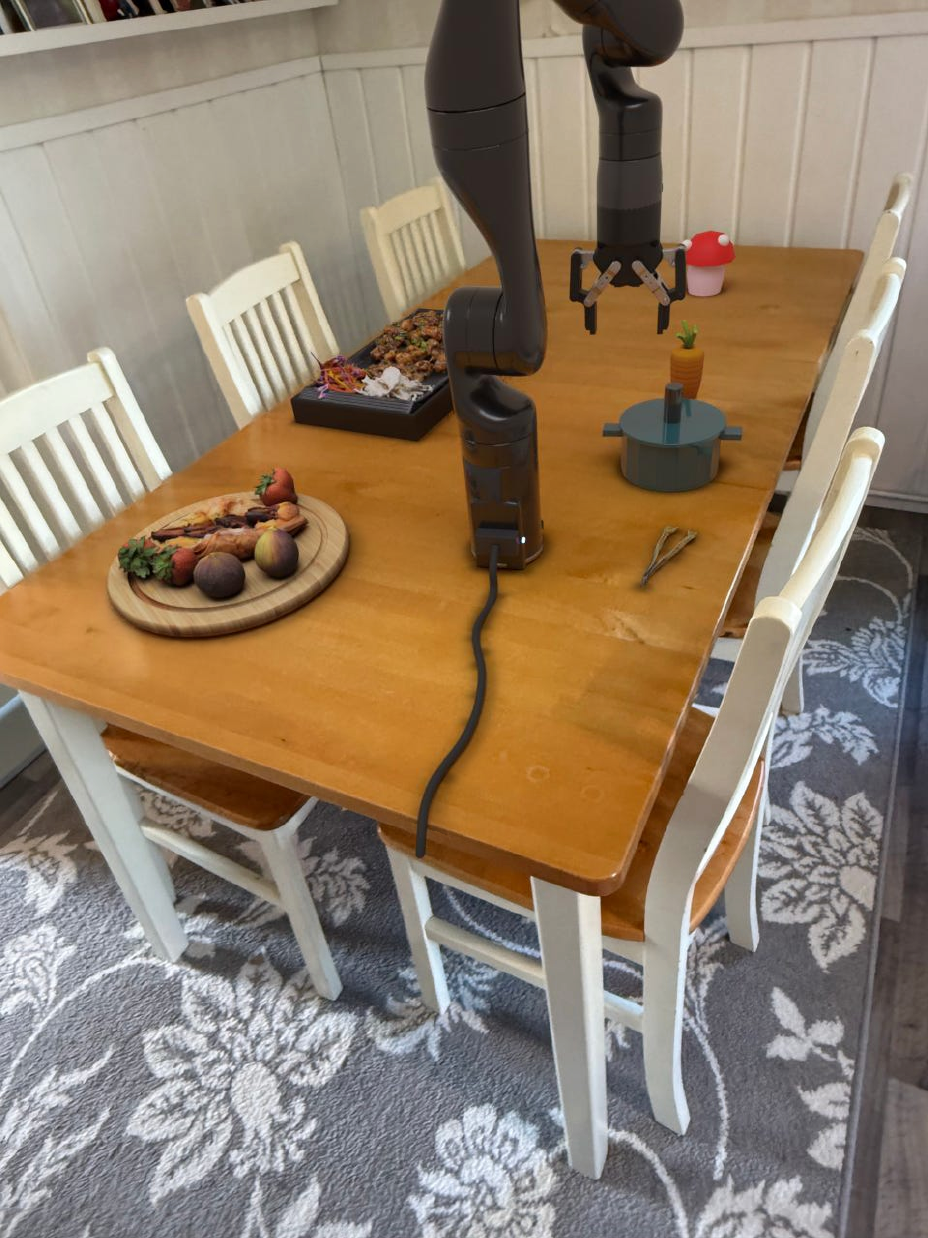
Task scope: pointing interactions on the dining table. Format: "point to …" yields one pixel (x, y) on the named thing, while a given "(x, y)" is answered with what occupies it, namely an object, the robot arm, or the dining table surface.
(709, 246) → the mushroom
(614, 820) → the dining table surface
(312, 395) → the food platter
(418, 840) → the robot arm
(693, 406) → the pan lid
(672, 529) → the tongs
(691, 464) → the saucepan
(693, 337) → the carrot
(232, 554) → the wooden plate
